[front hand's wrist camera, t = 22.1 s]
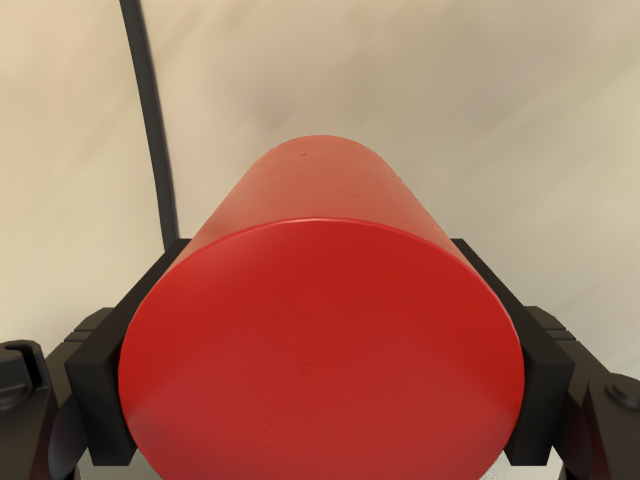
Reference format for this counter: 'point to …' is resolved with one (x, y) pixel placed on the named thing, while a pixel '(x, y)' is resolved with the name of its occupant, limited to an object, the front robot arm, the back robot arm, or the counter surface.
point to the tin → (321, 335)
